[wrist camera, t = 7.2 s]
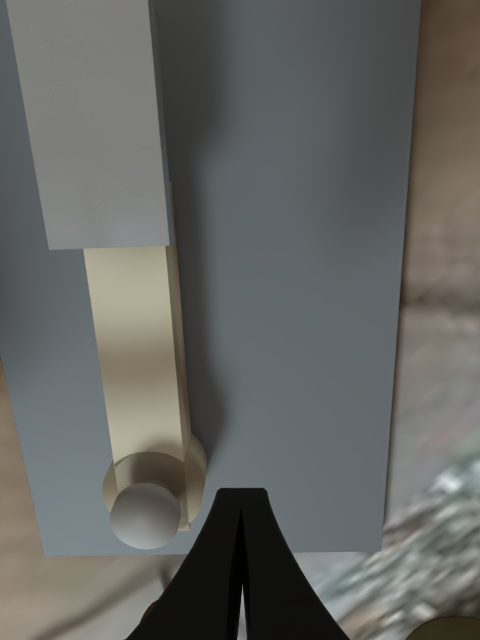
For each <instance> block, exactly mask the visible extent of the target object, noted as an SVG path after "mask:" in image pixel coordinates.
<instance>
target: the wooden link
mask: <svg viewBox="0 0 480 640" xmlns="http://www.w3.org/2000/svg"><path fill="white" fill-rule="evenodd" d="M169 183H170V194H171V206H172V218H173V230H174V242H173V243H172V244H171V245H169V246H142V247H116V248H89V249H83V251H84V258H85V265H86V272H87V279H88V286H89V293H90V300H91V307H92V314H93V321H94V328H95V335H96V342H97V349H98V356H99V363H100V370H101V377H102V384H103V391H104V398H105V405H106V412H107V419H108V426H109V433H110V440H111V447H112V454H113V461H112V463H111V465H110V467H109V469H108V471H107V473H106V475H105V478H104V481H103V486H102V494H103V499H104V502H105V505H106V507H107V509H108V511H109V512H110V517H109V521H110V526H111V529H112V531H113V532H114V534H115V535H116V536H117V537H118V538H119V539H120V540H121V541H122V542H124V543H125V544H127V545H129V546H132V547H134V548H138V549H155V548H159V547H162V546H164V545H166V544H168V543H169V542H170V541H171V540H172V539H173V538H174V537H175V535H176V533H177V531H190V526H191V522H192V521H193V520H194V519H195V517H196V516H197V514H198V512H199V511H200V508H201V505H202V499H203V492H204V486H205V479H206V472H207V454H206V451H205V449H204V446H203V445H202V443H201V442H200V440H199V439H198V438H197V437H196V436H195V435H194V434H193V433H192V432H191V426H190V413H189V400H188V387H187V375H186V362H185V349H184V336H183V323H182V310H181V297H180V285H179V272H178V259H177V246H176V233H175V220H174V208H173V195H172V182H169Z"/></svg>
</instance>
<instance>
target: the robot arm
mask: <svg viewBox="0 0 480 640" xmlns="http://www.w3.org/2000/svg"><path fill="white" fill-rule="evenodd" d="M242 585H243V594H244V606H245V619H246V631H247V640H350V639H349V638H348V637H347V635H346V634H345V633H344V632H343V630H342V629H341V628H340V627H339V625H338V624H337V623H336V622H335V620H334V619H333V618H332V616H331V615H330V613H329V612H328V611H327V609H326V608H325V606H324V605H323V604H322V602H321V601H320V599H319V598H318V596H317V595H316V593H315V592H314V590H313V589H312V587H311V585H310V584H309V582H308V581H307V579H306V577H305V576H304V574H303V572H302V571H301V569H300V567H299V565H298V564H297V562H296V560H295V558H294V556H293V554H292V553H291V551H290V549H289V547H288V545H287V543H286V540H285V538H284V536H283V534H282V532H281V530H280V528H279V525H278V523H277V521H276V518H275V516H274V513H273V510H272V507H271V504H270V501H269V497H268V492H267V491H266V490H265V489H264V488H220V489H219V490H217V492H216V495H215V499H214V502H213V504H212V507H211V509H210V512H209V514H208V516H207V519H206V521H205V523H204V525H203V527H202V529H201V531H200V533H199V535H198V537H197V539H196V541H195V543H194V545H193V546H192V548H191V550H190V552H189V553H188V555H187V557H186V558H185V560H184V562H183V563H182V565H181V567H180V568H179V570H178V572H177V573H176V575H175V576H174V578H173V579H172V581H171V582H170V584H169V585H168V587H167V588H166V589H165V591H164V592H163V594H162V595H161V596H160V598H159V599H158V601H157V602H156V603H155V605H154V606H153V607H152V608H151V610H150V611H149V612H148V613H147V615H146V616H145V617H144V618H143V620H142V621H141V622H140V624H139V625H138V626H137V627H136V628H135V629H134V631H133V632H132V633H131V634H130V635H129V636H128V638H127V639H126V640H237V636H238V626H239V616H240V605H241V595H242Z"/></svg>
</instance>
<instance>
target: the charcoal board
mask: <svg viewBox="0 0 480 640" xmlns="http://www.w3.org/2000/svg"><path fill="white" fill-rule="evenodd" d="M154 5H155V7H156V17H157V29H158V41H159V53H160V65H161V77H162V88H163V99H162V100H163V112H164V124H165V135H166V147H167V159H168V171H169V182H172V195H173V208H174V220H175V233H176V246H177V259H178V272H179V285H180V297H181V310H182V323H183V336H184V349H185V362H186V375H187V387H188V400H189V413H190V426H191V432H192V433H193V434H194V435H195V436H196V437H197V438H198V439H199V440H200V442H201V443H202V445H203V446H204V449H205V451H206V454H207V472H206V479H205V486H204V492H203V499H202V505H201V508H200V511H199V512H198V514H197V516H196V517H195V519H194V520H193V521H192V522H191V526H190V531H177V533H176V535H175V537H174V538H173V539H172V540H171V541H170V542H169V543H168V544H166V545H164V546H162V547H159V548H155V549H138V548H134V547H132V546H129V545H127V544H125V543H124V542H122V541H121V540H120V539H119V538H118V537H117V536H116V535H115V534H114V532H113V531H112V529H111V526H110V521H109V517H110V512H109V511H108V509H107V507H106V505H105V502H104V499H103V494H102V486H103V481H104V478H105V475H106V473H107V471H108V469H109V467H110V465H111V463H112V461H113V454H112V447H111V440H110V433H109V426H108V419H107V412H106V405H105V398H104V391H103V384H102V377H101V370H100V363H99V356H98V349H97V342H96V335H95V328H94V321H93V314H92V307H91V300H90V293H89V286H88V279H87V272H86V265H85V258H84V251H83V249H63V250H49V247H48V241H47V236H46V230H45V224H44V218H43V212H42V207H41V201H40V195H39V189H38V183H37V178H36V172H35V166H34V160H33V154H32V149H31V143H30V137H29V131H28V126H27V120H26V114H25V108H24V102H23V97H22V91H21V85H20V79H19V73H18V68H17V62H16V56H15V50H14V44H13V39H12V33H11V27H10V21H9V15H8V10H7V4H6V0H0V356H1V361H2V365H3V370H4V374H5V379H6V383H7V388H8V392H9V397H10V401H11V406H12V410H13V415H14V419H15V424H16V428H17V433H18V437H19V441H20V446H21V450H22V455H23V459H24V464H25V468H26V473H27V477H28V482H29V486H30V491H31V495H32V500H33V504H34V509H35V513H36V518H37V522H38V527H39V531H40V536H41V540H42V545H43V549H44V554H45V556H106V555H169V554H188V553H189V552H190V550H191V548H192V546H193V545H194V543H195V541H196V539H197V537H198V535H199V533H200V531H201V529H202V527H203V525H204V523H205V521H206V519H207V516H208V514H209V512H210V509H211V507H212V504H213V502H214V499H215V495H216V492H217V490H219V489H220V488H264V489H265V490H266V491H267V492H268V497H269V501H270V504H271V507H272V510H273V513H274V516H275V518H276V521H277V523H278V525H279V528H280V530H281V532H282V534H283V536H284V538H285V540H286V543H287V545H288V547H289V549H290V551H291V553H294V552H357V551H381V545H382V532H383V518H384V504H385V491H386V477H387V463H388V450H389V436H390V422H391V409H392V395H393V381H394V368H395V354H396V340H397V327H398V313H399V299H400V286H401V272H402V258H403V245H404V231H405V217H406V204H407V190H408V176H409V163H410V149H411V135H412V122H413V108H414V94H415V81H416V67H417V53H418V40H419V26H420V12H421V0H154Z"/></svg>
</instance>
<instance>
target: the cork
mask: <svg viewBox="0 0 480 640" xmlns="http://www.w3.org/2000/svg"><path fill="white" fill-rule="evenodd" d="M406 640H480V621H479V620H476V619H474V618H468V617H461V616H454V617H444V618H439V619H436V620H433V621H430V622H427V623H425V624H424V625H422V626H420V627H419V628H417V629H416V630H414V631H413V632H412V633H411V634H410V636H409V637H408V638H407V639H406Z"/></svg>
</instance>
